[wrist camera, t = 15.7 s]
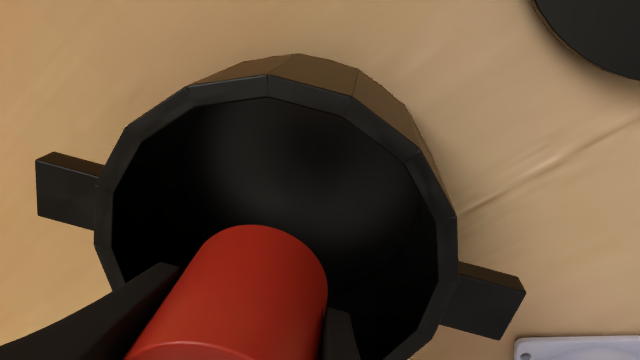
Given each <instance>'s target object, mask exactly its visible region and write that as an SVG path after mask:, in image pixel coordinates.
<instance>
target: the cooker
mask: <svg viewBox="0 0 640 360" xmlns="http://www.w3.org/2000/svg"><path fill="white" fill-rule="evenodd" d="M35 170H36V191H37V212H38V216H41V217H45V218H48V219H52V220H56V221H60V222H63V223H67V224H71V225H74V226H78V227H82V228H85V229H89V230H93V231H94V245H95V250H96V252H97V255H98V257H99V259H100V262H101V264H102V267H103V269H104V272H105V274H106V276H107V279H108V281H109V284H110V286H111V289H112V291H114V290H116V289H117V288H119V287H121V286H122V285H124V284H126V283H127V282H129V281H130V280H132V279H134V278H135V277H137V276H138V275H140V274H142V273H143V272H145V271H146V270H148V269H149V268H151V267H153V266H154V265H156V264H158V263H160V262H163V263H166V264H170V265H174V266H177V267H180V270H179V278H180V276H181V275H182V273H183V272H184V271H185V269H186V268H187V266H188V265H189V264H190V262H191V261H192V259H193V258H194V256H195V255H196V254H197V252H198V251H199V249H200V248H201V246H202V245H203V244H204V243H205V242H206V241H207V240H208V239H209V238H211V237H212V236H213V235H215V234H217V233H218V232H220V231H223V230H225V229H227V228H231V227H235V226H240V225H263V226H268V227H273V228H276V229H279V230H282V231H284V232H286V233H288V234H290V235H292V236H294V237H295V238H297V239H298V240H300V241H301V242H302V243H304V244H305V245H306V246H307V247H308V248H309V249H310V250H311V251H312V252H313V253H314V255H315V256H316V257H317V259H318V260H319V262H320V264H321V265H322V267H323V270H324V272H325V275H326V279H327V284H328V296H327V304H326V311H325V315H326V312H327V309H328V307H329V308H333V309H337V310H340V311H344V312H348V314H349V315H350V319H351V324H352V329H353V333H354V337H355V341H356V345H357V348H358V352H359V355H360V358H361V360H407V359H409V358H410V357H411V356H412V355H413V354H415V353H416V352H417V351H418V350H419V349H420V348H422V347H423V346H424V345H425V344H426V343H428V342H429V341H430V340H431V339H432V338H433V336H434V334H435V332H436V330H437V327H438V325H439V324H440V325H443V326H447V327H451V328H454V329H458V330H462V331H465V332H469V333H473V334H476V335H480V336H484V337H487V338H491V339H495V340H500V339H501V338H502V336H503V334H504V332H505V331H506V329H507V327H508V325H509V323H510V322H511V320H512V318H513V316H514V315H515V313H516V311H517V309H518V307H519V306H520V304H521V302H522V300H523V298H524V297H525V295H526V291H525V289H524V287H523V285H522V284H521V282H520V280H519V278H518V277H516V276H513V275H509V274H505V273H502V272H498V271H494V270H490V269H487V268H483V267H479V266H476V265H472V264H468V263H465V262H461V261H458V236H457V216H456V213H455V210H454V208H453V206H452V203H451V201H450V198H449V196H448V193H447V191H446V189H445V186H444V184H443V181H442V179H441V177H440V174H439V172H438V169H437V167H436V165H435V162H434V160H433V157H432V155H431V153H430V151H429V149H428V147H427V145H426V144H425V142H424V140H423V138H422V136H421V134H420V132H419V130H418V128H417V126H416V125H415V123H414V121H413V119H412V117H411V115H410V114H409V112H408V110H407V108H406V107H405V105H404V104H403V103H401V102H400V101H399V100H397V99H396V98H395V97H394V96H393V95H391V94H390V93H389V92H388V91H387V90H386V89H385V88H384V87H383V86H381V85H380V84H378V83H377V82H376V81H374V80H373V79H371V78H370V77H368V76H367V75H366V74H364V73H363V72H362V71H360V70H359V69H357V68H353V67H350V66H346V65H343V64H341V63H338V62H335V61H332V60H328V59H323V58H318V57H313V56H308V55H304V54H298V53H297V54H291V55H284V56H273V57H268V58H264V59H258V60H251V61H245V62H241V63H239V64H237V65H234V66H232V67H230V68H227V69H225V70H223V71H220V72H218V73H216V74H213V75H211V76H209V77H206V78H204V79H202V80H199V81H197V82H195V83H192V84H190V85H188V86H185V87H184V88H182V89H181V90H179V91H178V92H176V93H175V94H173V95H172V96H170V97H169V98H167V99H166V100H164V101H163V102H161V103H160V104H158V105H157V106H155V107H154V108H152V109H151V110H149V111H148V112H146V113H145V114H143V115H142V116H140V117H139V118H138V119H136V120H135V121H133V122H132V123H130V124H129V125H128V126H127V127H125V129H124V131H123V132H122V134H121V136H120V138H119V140H118V142H117V144H116V145H115V147H114V149H113V151H112V153H111V155H110V157H109V159H108V160H107V162H106V164H105V165H102V164H98V163H94V162H91V161H87V160H83V159H80V158H76V157H72V156H68V155H65V154H61V153H57V152H52V153H49V154H47V155H45V156H43V157H41V158H38V159H36V160H35ZM179 278H178V279H179ZM324 319H325V318H324Z"/></svg>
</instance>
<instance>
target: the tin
mask: <svg viewBox="0 0 640 360" xmlns="http://www.w3.org/2000/svg"><path fill="white" fill-rule="evenodd" d="M327 296H328V284H327V279H326V275H325V272H324V270H323V267H322V265H321V264H320V262H319V260H318V259H317V257H316V256H315V255H314V253H313V252H312V251H311V250H310V249H309V248H308V247H307V246H306V245H305V244H304V243H302V242H301V241H300V240H298V239H297V238H295V237H294V236H292V235H290V234H288V233H286V232H284V231H282V230H279V229H276V228H273V227H268V226H263V225H240V226H235V227H231V228H227V229H225V230H223V231H220V232H218V233H217V234H215V235H213V236H212V237H211V238H209V239H208V240H207V241H206V242H205V243H204V244H203V245H202V246H201V248H200V249H199V251H198V252H197V254H196V255H195V256H194V258H193V259H192V261H191V262H190V264H189V265H188V266H187V268H186V269H185V271H184V272H183V273H182V275H181V276H180V278H179V279H178V281H177V282H176V283H175V285H174V286H173V288H172V289H171V291H170V292H169V293H168V295H167V296H166V298H165V299H164V301H163V302H162V303H161V305H160V306H159V308H158V309H157V311H156V312H155V313H154V315H153V316H152V318H151V319H150V321H149V322H148V323H147V325H146V326H145V328H144V329H143V331H142V332H141V333H140V335H139V336H138V338H137V339H136V341H135V342H134V343H133V345H132V346H131V348H130V349H129V351H128V352H127V353H126V355H125V356H124V358H123V359H122V360H318V358H319V350H320V343H321V336H322V329H323V322H324V318H325V311H326V304H327Z"/></svg>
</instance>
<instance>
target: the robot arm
mask: <svg viewBox="0 0 640 360" xmlns="http://www.w3.org/2000/svg"><path fill="white" fill-rule="evenodd" d="M179 270H180V267H177V266H174V265H170V264H166V263H163V262H160V263H158V264H156V265H154V266H153V267H151V268H149V269H148V270H146V271H145V272H143V273H142V274H140V275H138V276H137V277H135V278H134V279H132V280H130V281H129V282H127V283H126V284H124V285H122V286H121V287H119V288H117V289H116V290H114V291H112V292H111V293H109V294H107V295H106V296H104V297H102V298H101V299H99V300H97V301H95V302H94V303H92V304H90V305H88V306H86V307H84V308H82V309H81V310H79V311H77V312H75V313H73V314H71V315H69V316H67V317H66V318H64V319H62V320H60V321H57V322H55V323H53V324H51V325H49V326H47V327H45V328H43V329H41V330H38V331H36V332H34V333H32V334H29V335H27V336H25V337H22V338H20V339H17V340H15V341H12V342H9V343H7V344H4V345H2V346H0V360H122V359H123V358H124V356H125V355H126V353H127V352H128V351H129V349H130V348H131V346H132V345H133V343H134V342H135V341H136V339H137V338H138V336H139V335H140V333H141V332H142V331H143V329H144V328H145V326H146V325H147V323H148V322H149V321H150V319H151V318H152V316H153V315H154V313H155V312H156V311H157V309H158V308H159V306H160V305H161V303H162V302H163V301H164V299H165V298H166V296H167V295H168V293H169V292H170V291H171V289H172V288H173V286H174V285H175V283H176V282H177V281H178V278H179ZM523 353H527V354H525V355H522V354H523ZM318 360H361V358H360V355H359V352H358V348H357V345H356V341H355V337H354V333H353V329H352V324H351V319H350V315H349V314H348V312H344V311H340V310H337V309H333V308H329V307H328V309H327V312H326V315H325V319H324V322H323V329H322V336H321V343H320V350H319V358H318ZM513 360H640V335H622V336H575V337H528V338H520V339H518V340H517V341H516V342H515V344H514V358H513Z"/></svg>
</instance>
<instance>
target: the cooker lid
mask: <svg viewBox="0 0 640 360" xmlns="http://www.w3.org/2000/svg"><path fill="white" fill-rule="evenodd" d="M530 1H531V3H532V5H533V7H534V9H535V11H536V13H537V14H538V15H539V17H540V18H541V20H542V21H543V23H544V24H545V25H546V27H547V28H548V30H549V31H550V32H551V33H552V34H553V35H554V36H555V37H556V38H557V39H558V40H559V41H560V42H561V43H562V44H563V45H564V46H565V47H566V48H568V49H569V50H570V51H572V52H573V53H574V54H576V55H577V56H578V57H580V58H581V59H583V60H584V61H586V62H588V63H590V64H592V65H594V66H596V67H598V68H600V69H602V70H604V71H607V72H610V73H613V74H616V75H619V76H622V77H625V78H629V79H633V80H639V81H640V0H530Z"/></svg>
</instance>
